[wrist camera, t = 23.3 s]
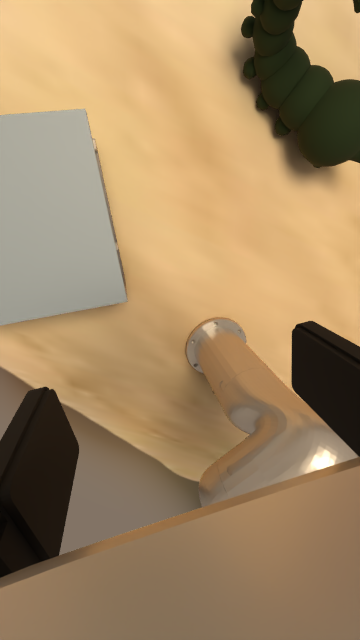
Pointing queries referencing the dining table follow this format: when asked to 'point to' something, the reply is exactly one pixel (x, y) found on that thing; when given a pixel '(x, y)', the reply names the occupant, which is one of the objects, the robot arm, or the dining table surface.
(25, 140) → the cover
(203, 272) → the dining table surface
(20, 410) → the robot arm
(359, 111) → the toy figurine
